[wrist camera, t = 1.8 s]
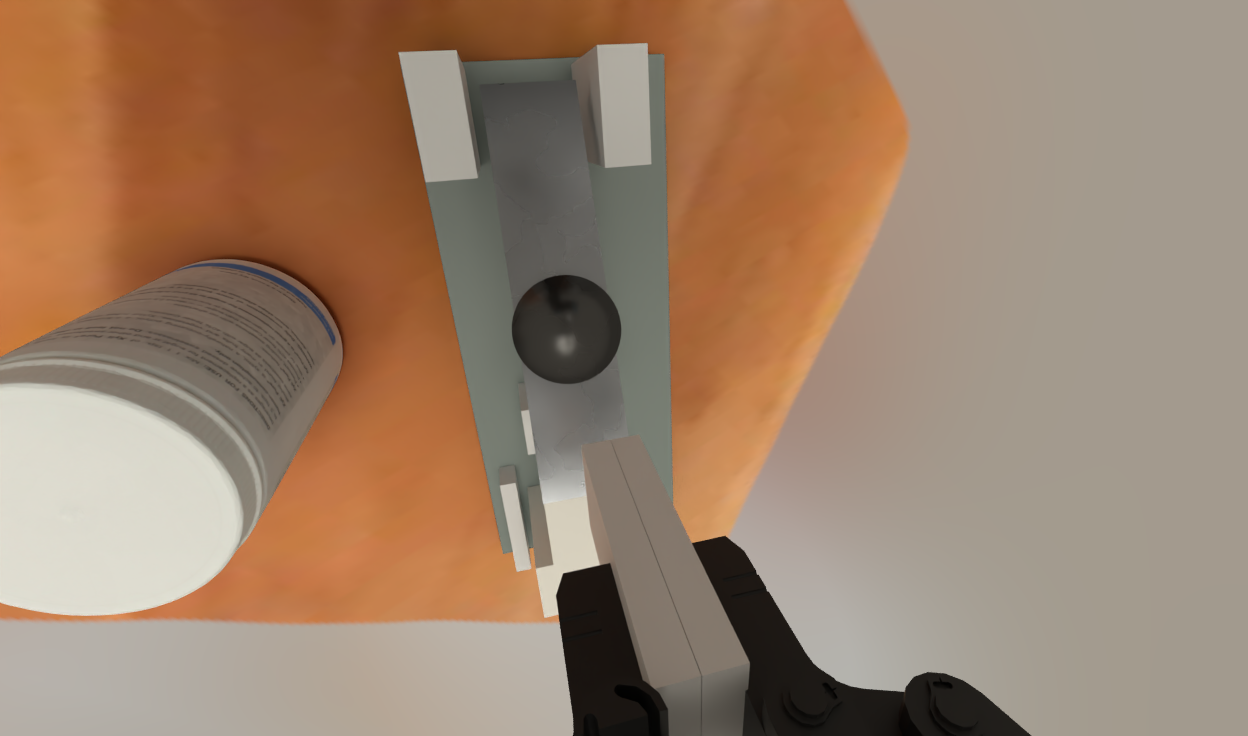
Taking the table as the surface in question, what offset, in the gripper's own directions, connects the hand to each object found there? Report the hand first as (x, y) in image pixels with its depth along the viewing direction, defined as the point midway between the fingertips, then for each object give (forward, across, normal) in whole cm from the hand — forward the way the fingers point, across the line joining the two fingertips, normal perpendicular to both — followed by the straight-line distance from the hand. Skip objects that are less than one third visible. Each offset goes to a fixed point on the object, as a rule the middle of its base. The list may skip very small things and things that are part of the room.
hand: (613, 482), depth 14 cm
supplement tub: (+20, -16, -1) cm, 26 cm away
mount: (+20, +1, -4) cm, 21 cm away
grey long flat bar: (+11, 0, +2) cm, 12 cm away
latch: (+19, 0, -13) cm, 23 cm away
